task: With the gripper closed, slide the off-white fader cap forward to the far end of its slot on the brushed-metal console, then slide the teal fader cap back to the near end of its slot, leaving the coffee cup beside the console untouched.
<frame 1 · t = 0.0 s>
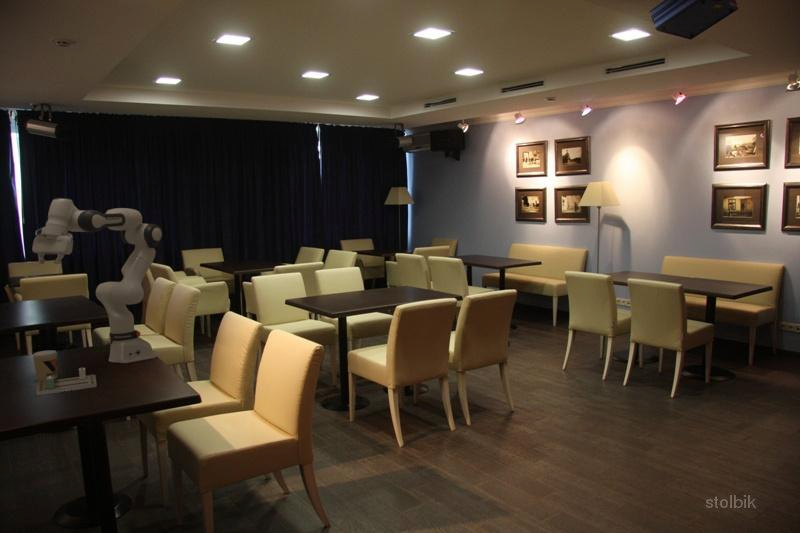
hand: (49, 263, 261), 52 cm above the table, tool tilted 20°, fingers open, 8 cm apart
console: (67, 386, 257), on the table
fader a: (82, 373, 263), point 4 cm above the table, slide at 0.0 cm
coffee cup: (47, 379, 269), on the table
fader b: (50, 382, 251), point 4 cm above the table, slide at 12.0 cm
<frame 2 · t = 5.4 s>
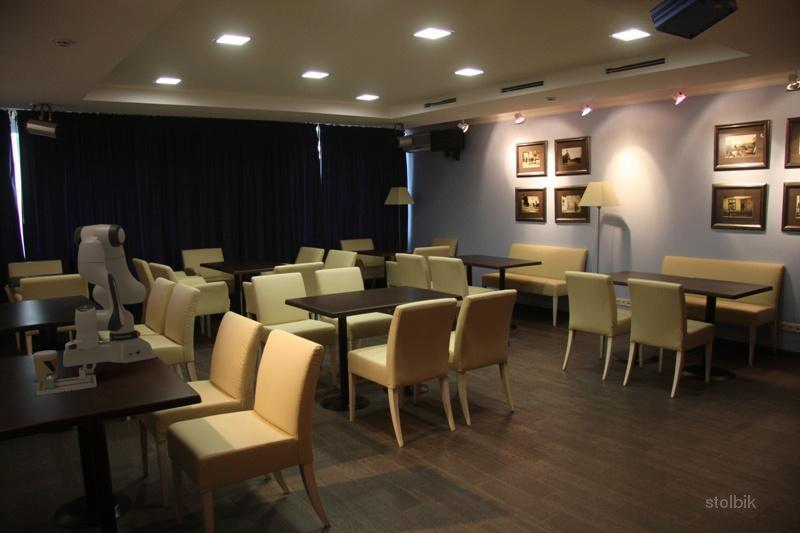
hand: (90, 373, 265), 3 cm above the table, tool pointing down, fingers closed
fader a: (82, 373, 263), point 4 cm above the table, slide at 0.0 cm, touching gripper
everything else where it was.
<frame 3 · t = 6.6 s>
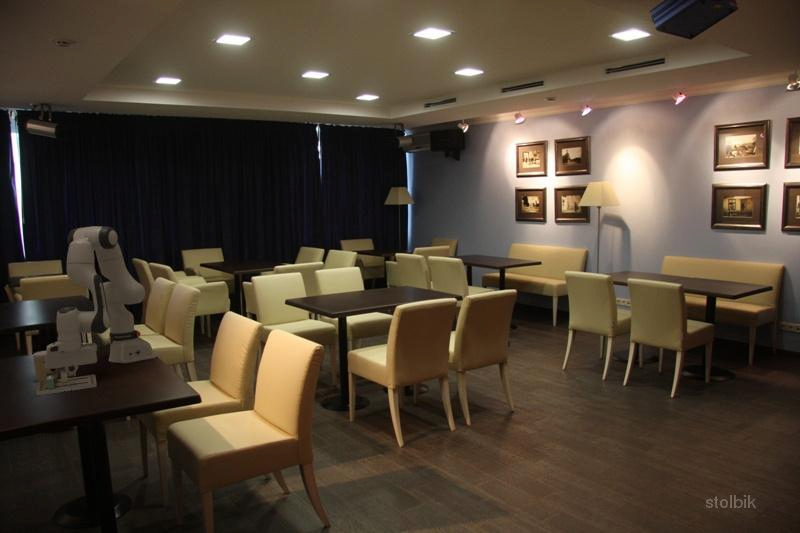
hand: (72, 375, 261), 3 cm above the table, tool pointing down, fingers closed
fader a: (64, 375, 260), point 4 cm above the table, slide at 6.9 cm, touching gripper
everything else where it was.
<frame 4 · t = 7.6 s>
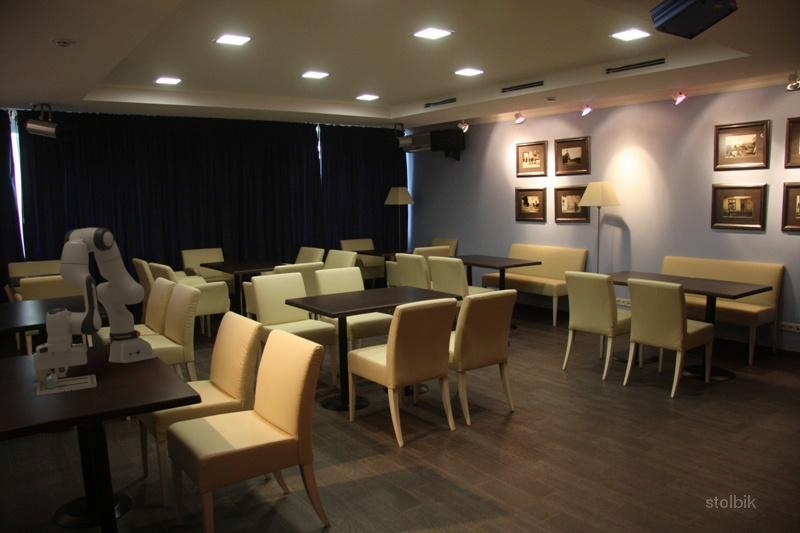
hand: (62, 377, 259), 3 cm above the table, tool pointing down, fingers closed
fader a: (54, 377, 258), point 4 cm above the table, slide at 10.8 cm, touching gripper
everything else where it was.
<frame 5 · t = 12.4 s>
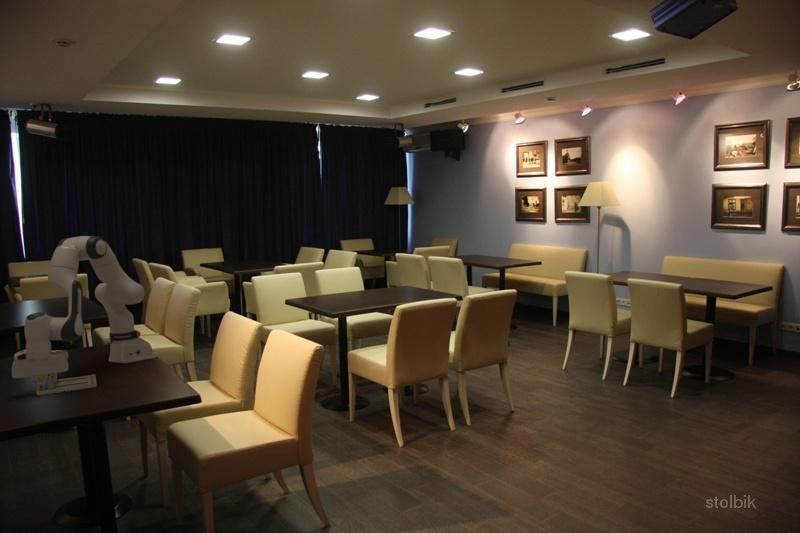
hand: (42, 385, 249), 3 cm above the table, tool pointing down, fingers closed
fader a: (53, 377, 258), point 4 cm above the table, slide at 11.0 cm
fader b: (50, 382, 251), point 4 cm above the table, slide at 11.9 cm, touching gripper
everything else where it was.
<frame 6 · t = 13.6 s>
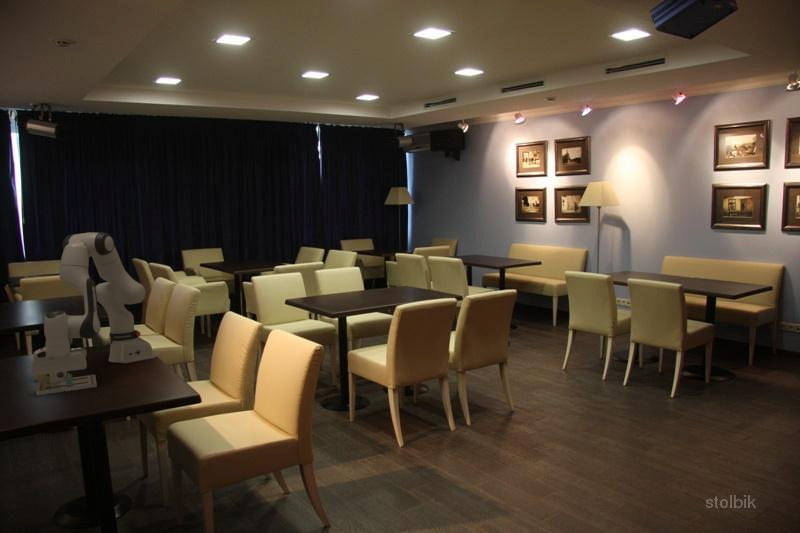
hand: (60, 382, 253), 3 cm above the table, tool pointing down, fingers closed
fader b: (69, 379, 254), point 4 cm above the table, slide at 5.1 cm, touching gripper
everything else where it was.
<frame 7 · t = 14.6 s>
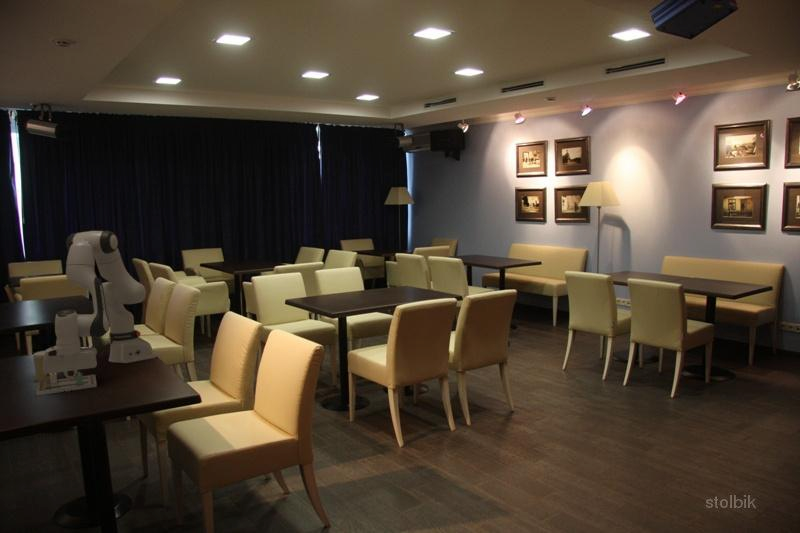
hand: (71, 380, 254), 3 cm above the table, tool pointing down, fingers closed
fader b: (79, 378, 256), point 4 cm above the table, slide at 1.2 cm, touching gripper
everything else where it was.
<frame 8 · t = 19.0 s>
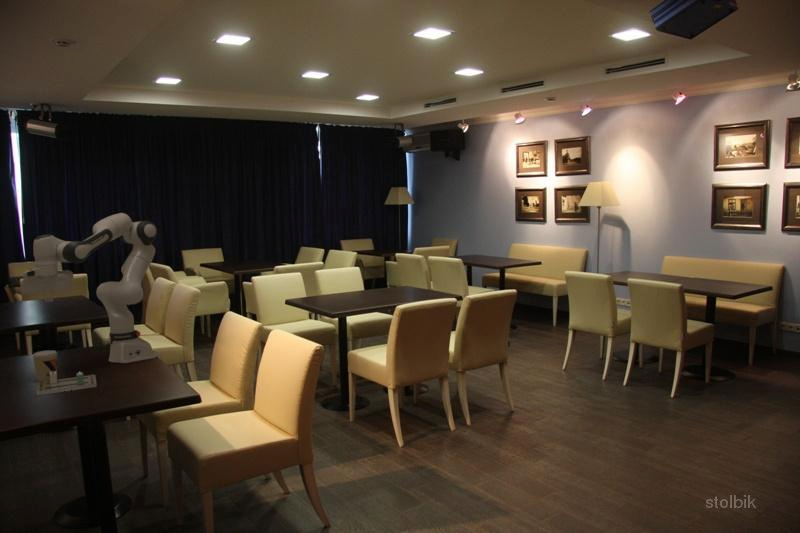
hand: (49, 301, 271), 34 cm above the table, tool pointing down, fingers closed
fader b: (80, 378, 256), point 4 cm above the table, slide at 1.0 cm
everything else where it was.
at the end: fader a slide at 11.0 cm; fader b slide at 1.0 cm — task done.
